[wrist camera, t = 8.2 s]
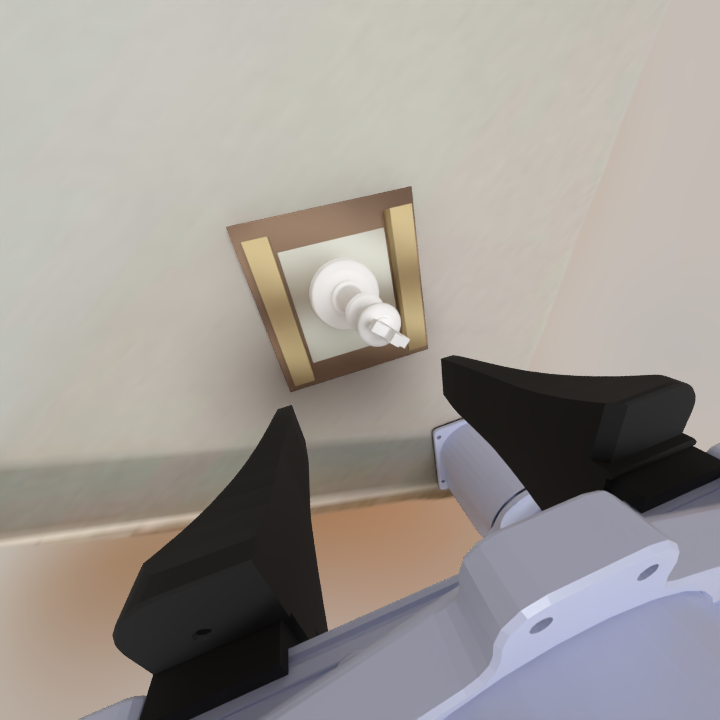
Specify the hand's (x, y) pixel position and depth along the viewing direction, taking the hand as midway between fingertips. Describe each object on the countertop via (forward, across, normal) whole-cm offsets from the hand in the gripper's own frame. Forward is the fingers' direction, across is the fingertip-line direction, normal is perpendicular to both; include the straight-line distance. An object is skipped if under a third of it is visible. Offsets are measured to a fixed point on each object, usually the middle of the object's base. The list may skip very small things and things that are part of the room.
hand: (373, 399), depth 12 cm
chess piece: (+9, -1, -3) cm, 10 cm away
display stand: (+10, -1, -3) cm, 11 cm away
